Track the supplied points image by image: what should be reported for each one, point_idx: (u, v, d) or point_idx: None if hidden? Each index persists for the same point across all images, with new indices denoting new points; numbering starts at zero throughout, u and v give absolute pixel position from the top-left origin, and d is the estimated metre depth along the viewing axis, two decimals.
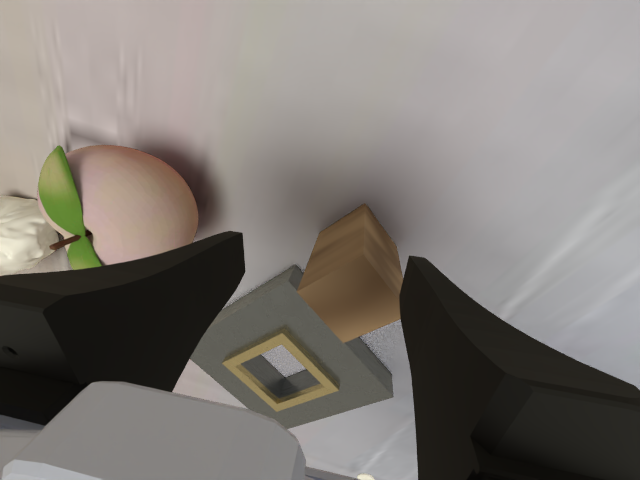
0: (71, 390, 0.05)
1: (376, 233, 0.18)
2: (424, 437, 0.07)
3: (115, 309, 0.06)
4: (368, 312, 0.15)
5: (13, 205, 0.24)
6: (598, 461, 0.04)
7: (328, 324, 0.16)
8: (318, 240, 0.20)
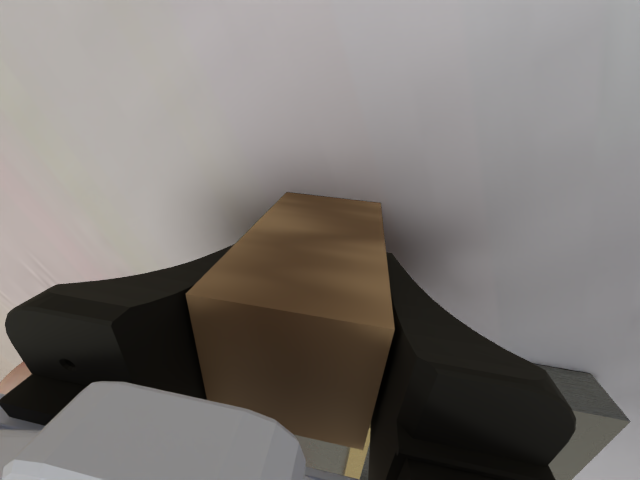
0: None
1: (300, 218, 0.10)
2: (374, 426, 0.07)
3: (168, 319, 0.06)
4: (325, 377, 0.06)
5: None
6: (509, 443, 0.04)
7: (304, 434, 0.07)
8: None
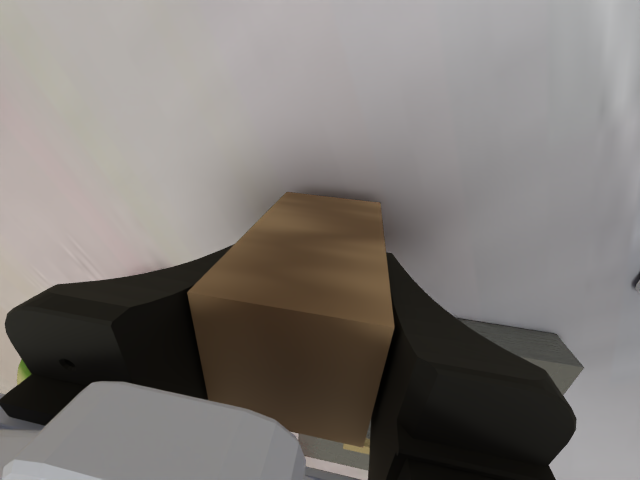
0: None
1: (301, 217, 0.10)
2: (374, 426, 0.07)
3: (168, 319, 0.06)
4: (325, 375, 0.06)
5: None
6: (508, 442, 0.04)
7: (304, 432, 0.08)
8: None
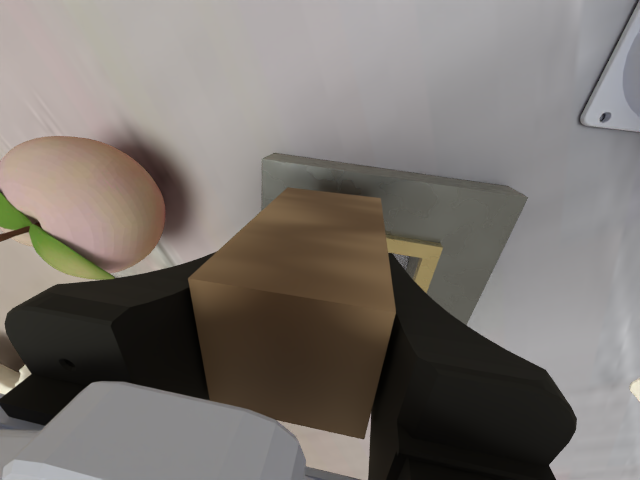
0: None
1: (301, 211, 0.10)
2: (374, 426, 0.07)
3: (168, 319, 0.06)
4: (326, 363, 0.06)
5: None
6: (509, 443, 0.04)
7: (305, 423, 0.07)
8: None
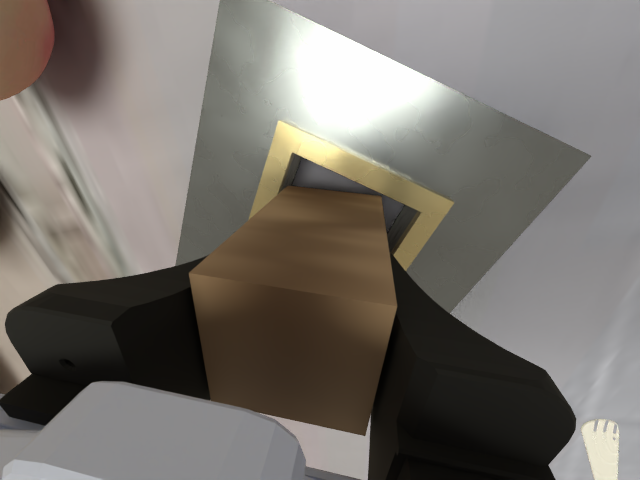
0: None
1: (302, 208, 0.10)
2: (374, 426, 0.07)
3: (168, 319, 0.06)
4: (327, 358, 0.06)
5: None
6: (509, 444, 0.04)
7: (306, 420, 0.07)
8: None
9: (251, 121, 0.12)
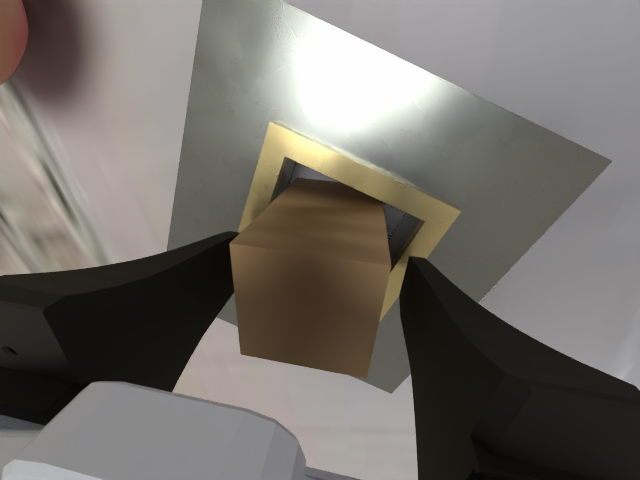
0: (71, 390, 0.05)
1: (312, 196, 0.12)
2: (424, 437, 0.07)
3: (115, 309, 0.06)
4: (337, 311, 0.08)
5: None
6: (597, 462, 0.04)
7: (318, 366, 0.09)
8: None
9: (240, 122, 0.11)
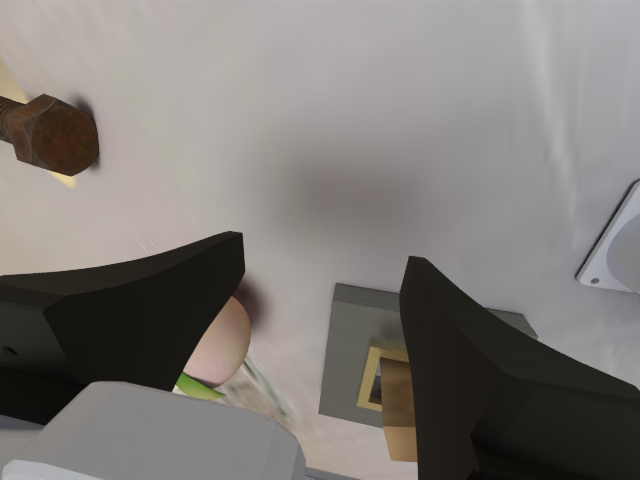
0: (71, 390, 0.05)
1: (396, 368, 0.24)
2: (424, 437, 0.07)
3: (115, 309, 0.06)
4: None
5: None
6: (598, 461, 0.04)
7: None
8: None
9: (354, 343, 0.24)
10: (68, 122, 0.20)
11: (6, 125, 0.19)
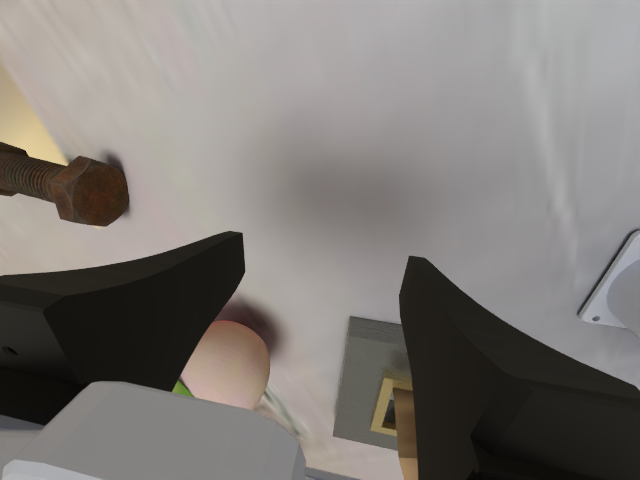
0: (71, 390, 0.05)
1: (409, 397, 0.25)
2: (424, 437, 0.07)
3: (115, 309, 0.06)
4: None
5: None
6: (598, 461, 0.04)
7: None
8: None
9: (368, 374, 0.25)
10: (102, 178, 0.21)
11: (48, 188, 0.20)
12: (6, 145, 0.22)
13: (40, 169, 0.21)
